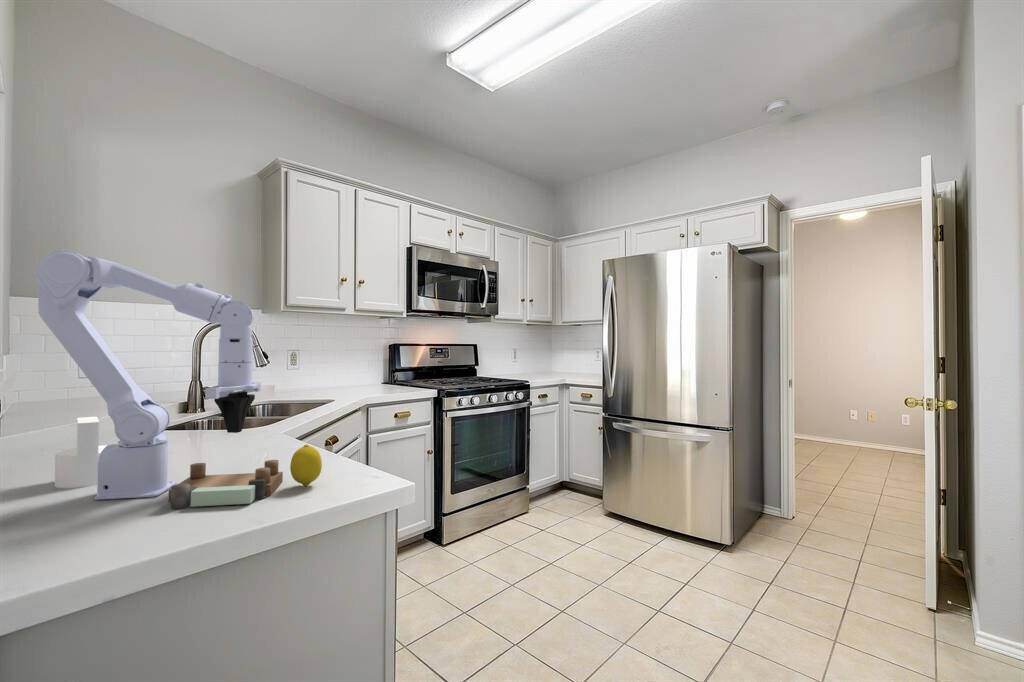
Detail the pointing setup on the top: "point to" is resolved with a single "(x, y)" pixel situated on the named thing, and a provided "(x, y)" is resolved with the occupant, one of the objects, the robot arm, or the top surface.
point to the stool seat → (226, 482)
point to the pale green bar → (222, 495)
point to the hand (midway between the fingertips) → (234, 432)
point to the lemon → (306, 465)
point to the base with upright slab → (80, 457)
